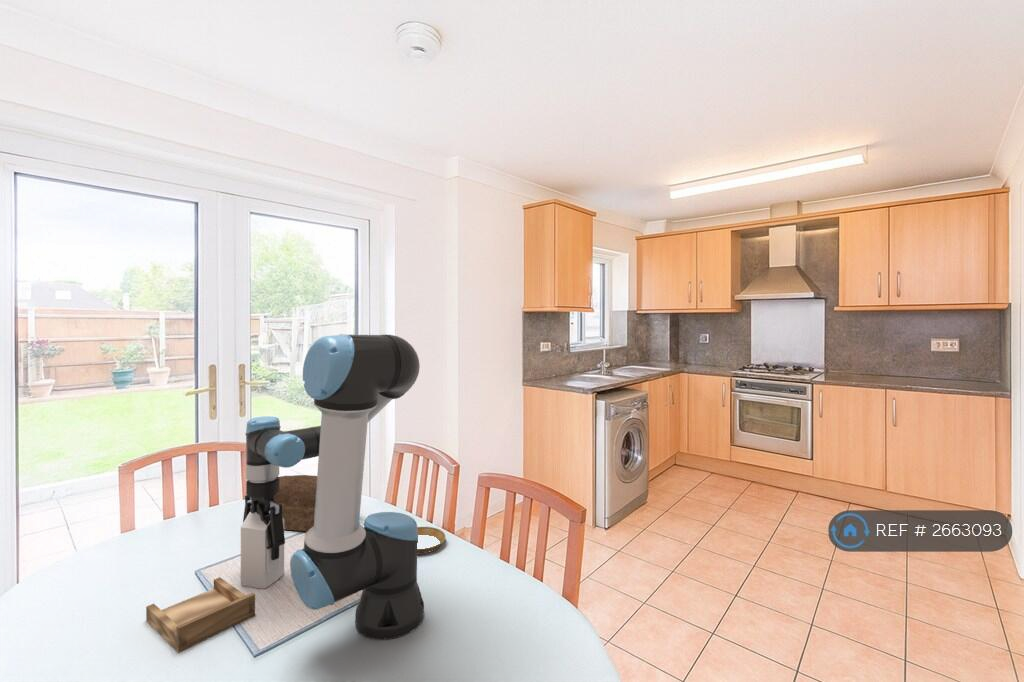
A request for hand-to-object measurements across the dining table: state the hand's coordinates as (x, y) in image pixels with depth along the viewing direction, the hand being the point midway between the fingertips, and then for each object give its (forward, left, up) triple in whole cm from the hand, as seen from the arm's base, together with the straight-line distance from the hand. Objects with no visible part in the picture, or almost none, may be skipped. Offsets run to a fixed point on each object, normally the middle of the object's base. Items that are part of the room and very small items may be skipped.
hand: (262, 564), depth 121 cm
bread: (+23, -26, -4) cm, 35 cm away
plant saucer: (-18, -38, -4) cm, 42 cm away
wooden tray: (-5, +16, -4) cm, 17 cm away
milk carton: (0, 0, -4) cm, 4 cm away
